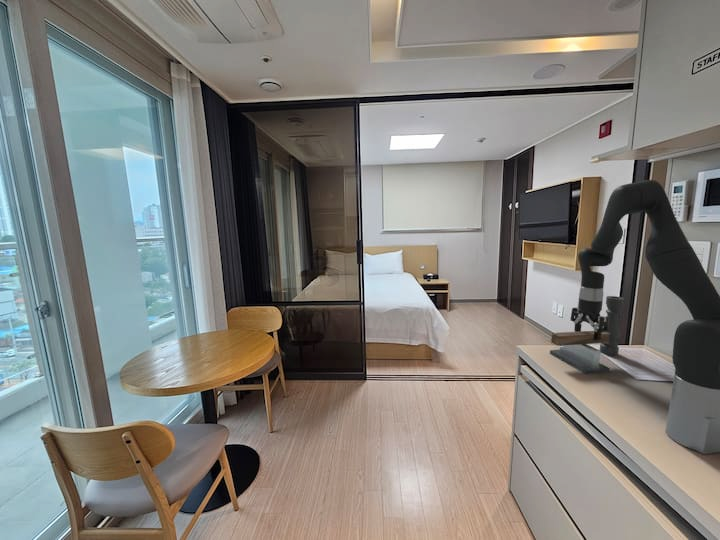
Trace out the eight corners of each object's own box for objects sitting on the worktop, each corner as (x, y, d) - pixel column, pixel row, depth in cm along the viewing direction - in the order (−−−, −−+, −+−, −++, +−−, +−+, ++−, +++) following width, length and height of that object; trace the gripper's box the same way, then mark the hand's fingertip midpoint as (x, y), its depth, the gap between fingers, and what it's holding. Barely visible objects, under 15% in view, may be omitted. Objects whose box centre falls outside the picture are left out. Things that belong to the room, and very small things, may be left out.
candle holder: (621, 356, 124) (629, 299, 120) (607, 356, 124) (613, 299, 120) (609, 349, 130) (616, 295, 126) (595, 349, 130) (601, 296, 126)
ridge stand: (609, 371, 112) (611, 351, 110) (586, 374, 110) (588, 353, 109) (570, 351, 129) (571, 333, 128) (549, 353, 128) (551, 335, 127)
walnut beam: (608, 342, 118) (609, 333, 117) (557, 345, 116) (558, 336, 115) (601, 339, 121) (602, 330, 121) (551, 342, 120) (552, 332, 119)
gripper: (616, 302, 109) (611, 342, 112) (583, 293, 123) (579, 329, 126) (599, 303, 109) (594, 344, 111) (567, 294, 122) (564, 330, 125)
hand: (586, 336), depth 119 cm, fingers open, 8 cm apart
